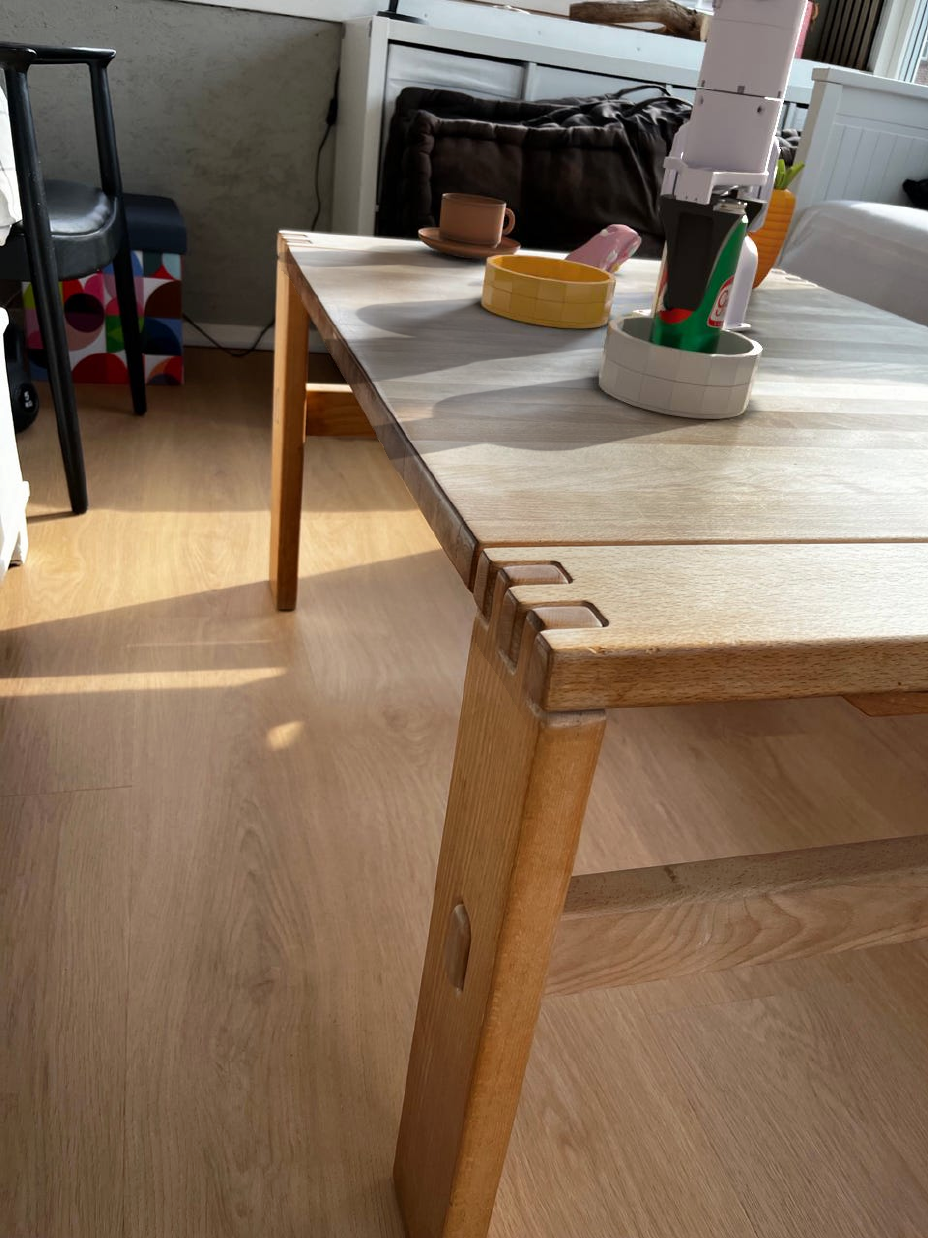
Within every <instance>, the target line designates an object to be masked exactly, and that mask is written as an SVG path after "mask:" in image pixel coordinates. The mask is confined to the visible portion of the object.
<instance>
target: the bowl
mask: <svg viewBox="0 0 928 1238" xmlns="http://www.w3.org/2000/svg"><path fill="white" fill-rule="evenodd" d="M616 283H617V278H616V276H615V275H614V273H613V274H611V273H609V272H607V271H605V270H603V269H600V268H596V267H593V266H589V265H586V264H582V263H577V262H572V261H567V260H564V259H563V258H562V259H561V258H556V257H555V258H554V257H547V256H541V255H531V254H530V255H529V254H516V253H515V254H513V255H496V256H492V257H488V258H487V259H486V263H485V270H484V278H483V285H482V286H483V287H482V294H481V301H480V304H481V306H482V307H483V308H484V309H485V310H486V311H489V312H491V313H492V314H494V315H498V316H500V317H503V318H506V319H510V320H513V321H517V322H521V323H526V324H530V325H531V324H532V325H536V326H543V327H551V328H561V329H593V328H599V327H602V326H605V325H606V324H607V323H608V322H609V318H610V315H611V310H612V307H613V306H612V305H613V300H614V294H615V289H616Z"/></svg>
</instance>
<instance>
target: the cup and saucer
mask: <svg viewBox="0 0 928 1238" xmlns="http://www.w3.org/2000/svg"><path fill="white" fill-rule="evenodd" d="M506 206H507V203H506V201H503V200H500V199H497V198H492V197H489V196H488V197H487V196H482V195H475V194H469V193H457V192H456V193H454V192H453V193H452V192H450V193H443V194H442V196H441V205H440V217H439V226H438V227H424V228H420V229H418V232H417V235H418V237H419V239H420V240H421V242H422V243H423V244H424V245H426V246H427V247H429V248H431V249H433V250H435V251H437V252H440V253H443V254H446V255H450V256H454V257H459V258H464V259H465V258H466V259H472V260H487V258H488V257H492V256H496V255H513V254H515V255H516V253H517V252H519V250H520V249H521V243H520V242H518V241H517V240H515V239H513V238H509V237H507V236H506V235H509V234H510V233H511V232H512V230H513V229H514V227H515V222H516V221H515V220H516V219H515V214H514V212H513V211H512V210H511V209H510V208H507V207H506ZM505 215H506V216H508V218H509V219H508V220H509V223H508V226H507V227H506V228H504V229H503V226H504V219H505V218H504V217H505Z"/></svg>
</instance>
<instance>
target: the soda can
mask: <svg viewBox="0 0 928 1238" xmlns="http://www.w3.org/2000/svg"><path fill="white" fill-rule="evenodd" d="M719 203H722V207H721V208H724V209H730V210H735V211H741V212H745V208H746V206H747V204H746V203H744V202H741V201H738V200H734V199H729V198H724V197H720V199H719ZM719 203H718V204H719ZM745 213H746V212H745ZM747 225H748V219H747V216H746V215H745V217H744V218H743V219H742V220H741V222H740V223H739V225H738V226H737V227H736V229H735V230H734V232H733V233H732V235H731V236H730V238H729V240H728V241H727V243H726V245H725V247H724V249H723V251H722V253H721V255H720V258H719V260H718V262H717V265H716V267H715V270H714V273H713V275H712V278H711V281H710V284H709V286H708V289H707V292H706V294H705V297H704V299H703V301H702V303H701V305H700V307H699V308H698V310H697V311H696V312H693V311H688V310H684V309H679V308H674V307H670V306H668V302H667V255H666V260H665V264H664V269H663V274H662V279H661V283H660V288H659V293H658V298H657V303H656V307H655V312H654V317H653V322H652V326H651V331H650V336H649V341H648V342H650V343H653V344H656V345H661V346H665V347H670V348H674V349H678V350H684V351H691V352H699V353H706V354H716V352H717V348H718V344H719V340H720V336H721V332H722V328H723V323H724V319H725V315H726V311H727V307H728V303H729V299H730V295H731V291H732V286H733V282H734V278H735V274H736V270H737V266H738V262H739V258H740V254H741V249H742V245H743V241H744V237H745V233H746V229H747Z"/></svg>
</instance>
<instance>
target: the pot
mask: <svg viewBox="0 0 928 1238" xmlns="http://www.w3.org/2000/svg"><path fill="white" fill-rule="evenodd" d="M653 317H654V316H641V315H634V316H632V315H625V316H617V317H614V318H613V319H611V320H608V324H607V330H606V334H605V339H604V345H603V351H602V355H601V361H600V367H599V370H598V371H599V372H598V386H599V388H600V389H601V390H602V391H603V392H604V393H606V394H607V395H609V396H610V397H612V398H614V399H616V400H619V401H621V402H623V403H625V404H628V405H631V406H634V407H637V408H640V409H643V410H648V411H651V412H655V413H659V414H663V415H670V416H676V417H682V418H689V419H703V420H705V419H706V420H712V419H713V420H717V419H719V420H720V419H729V418H730V419H731V418H734V417H738V416H740V415H742V414H744V412H745V411H746V410H747V406H748V405H749V403H750V399H751V395H752V391H753V388H754V384H755V381H756V377H757V373H758V369H759V366H760V362H761V358H762V354H763V350H764V349H763V348H762V346H761V345H760V344H759V343H758V341H756V340H754V339H751V338H750V337H748V336H746V335H744V334H742V333H739V332H737V331H734V332H733V331H730V330H727V329H723V328H722V332H721V336H720V340H719V344H718V348H717V352H716V354H706V353H699V352H691V351H684V350H678V349H674V348H670V347H665V346H661V345H656V344H653V343H650V342H648V341H649V336H650V331H651V326H652V322H653Z"/></svg>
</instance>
